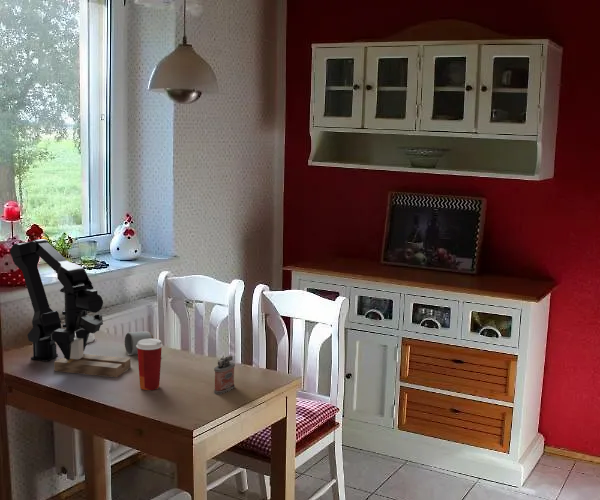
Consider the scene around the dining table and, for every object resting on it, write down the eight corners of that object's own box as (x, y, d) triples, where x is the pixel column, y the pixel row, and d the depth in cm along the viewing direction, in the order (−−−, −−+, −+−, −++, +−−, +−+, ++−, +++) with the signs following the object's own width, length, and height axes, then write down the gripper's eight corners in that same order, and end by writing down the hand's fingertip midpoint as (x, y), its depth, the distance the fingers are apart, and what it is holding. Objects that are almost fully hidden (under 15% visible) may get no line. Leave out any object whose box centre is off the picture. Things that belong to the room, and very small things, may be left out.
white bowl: (60, 343, 263) (60, 333, 263) (73, 335, 273) (73, 326, 272) (87, 345, 262) (87, 335, 261) (99, 337, 271) (99, 328, 271)
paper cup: (167, 384, 224) (167, 339, 222) (154, 393, 217) (154, 346, 215) (144, 381, 227) (144, 336, 224) (131, 389, 219) (130, 343, 217)
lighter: (220, 395, 217) (220, 362, 215) (211, 392, 219) (211, 359, 217) (237, 387, 224) (237, 355, 222) (228, 385, 225) (228, 353, 224)
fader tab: (67, 362, 236) (66, 339, 235) (72, 359, 239) (71, 337, 238) (78, 363, 235) (78, 340, 234) (83, 361, 238) (83, 338, 237)
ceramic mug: (155, 353, 254) (155, 331, 253) (133, 357, 249) (132, 335, 248) (142, 346, 262) (142, 325, 261) (120, 350, 257) (119, 328, 256)
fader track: (54, 370, 234) (54, 361, 233) (70, 361, 243) (70, 351, 243) (116, 377, 229) (116, 367, 229) (130, 367, 239) (130, 357, 238)
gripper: (83, 316, 224) (84, 366, 226) (111, 302, 242) (112, 349, 244) (49, 313, 226) (50, 363, 228) (80, 300, 244) (81, 346, 246)
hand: (75, 355), depth 237 cm, fingers open, 9 cm apart
